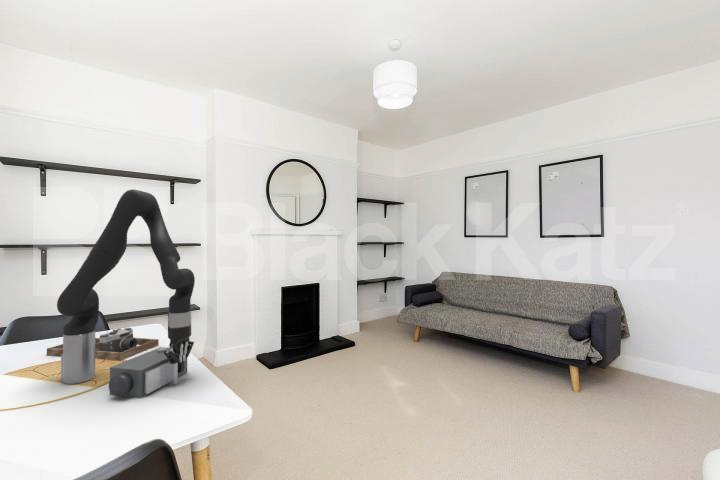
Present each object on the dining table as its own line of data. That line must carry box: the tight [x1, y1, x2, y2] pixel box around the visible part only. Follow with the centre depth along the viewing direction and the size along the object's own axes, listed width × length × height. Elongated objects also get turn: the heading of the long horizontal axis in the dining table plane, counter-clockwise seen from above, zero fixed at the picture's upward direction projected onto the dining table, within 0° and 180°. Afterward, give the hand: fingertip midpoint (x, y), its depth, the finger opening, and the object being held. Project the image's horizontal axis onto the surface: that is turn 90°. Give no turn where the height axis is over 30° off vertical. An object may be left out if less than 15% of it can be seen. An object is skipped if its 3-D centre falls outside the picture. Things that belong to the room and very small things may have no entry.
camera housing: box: [108, 346, 188, 399], centre depth 123 cm, size 12×25×10 cm, turn 168°
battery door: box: [144, 362, 179, 395], centre depth 118 cm, size 4×10×7 cm, turn 168°
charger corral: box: [46, 337, 99, 358], centre depth 160 cm, size 15×18×3 cm
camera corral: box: [95, 337, 160, 361], centre depth 159 cm, size 15×21×3 cm
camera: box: [98, 327, 138, 353], centre depth 158 cm, size 16×10×10 cm, turn 169°
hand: (179, 371), depth 126 cm, fingers closed
